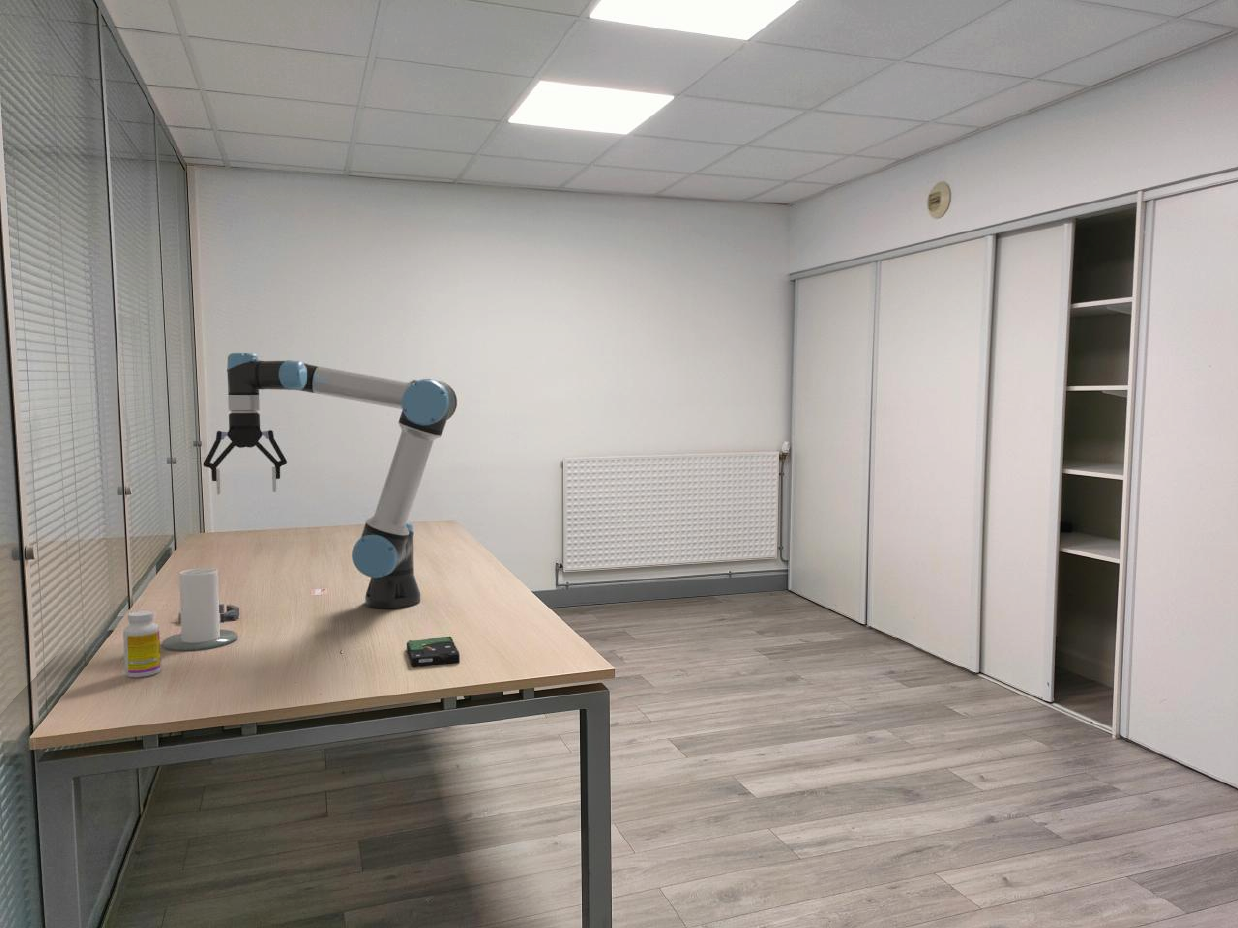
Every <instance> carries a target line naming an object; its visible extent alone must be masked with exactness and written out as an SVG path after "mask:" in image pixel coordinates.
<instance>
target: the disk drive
mask: <svg viewBox="0 0 1238 928" xmlns="http://www.w3.org/2000/svg"><path fill="white" fill-rule="evenodd" d="M406 652H407V655H408V659H409V662H410V665H411V668H423V667H435V666H445V665H455V664H457V665H458V664H461V663H460V662H461V661H460V659H461V658H460V652H459V650H458V648H457V647H456V644H455V641H454V640H453V638H452V637H451V636H442V637H431V638H430V637H429V638H423V639H415V640H413V639H412V640H411V639H409V640H408V641H407V642H406Z"/></svg>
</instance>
